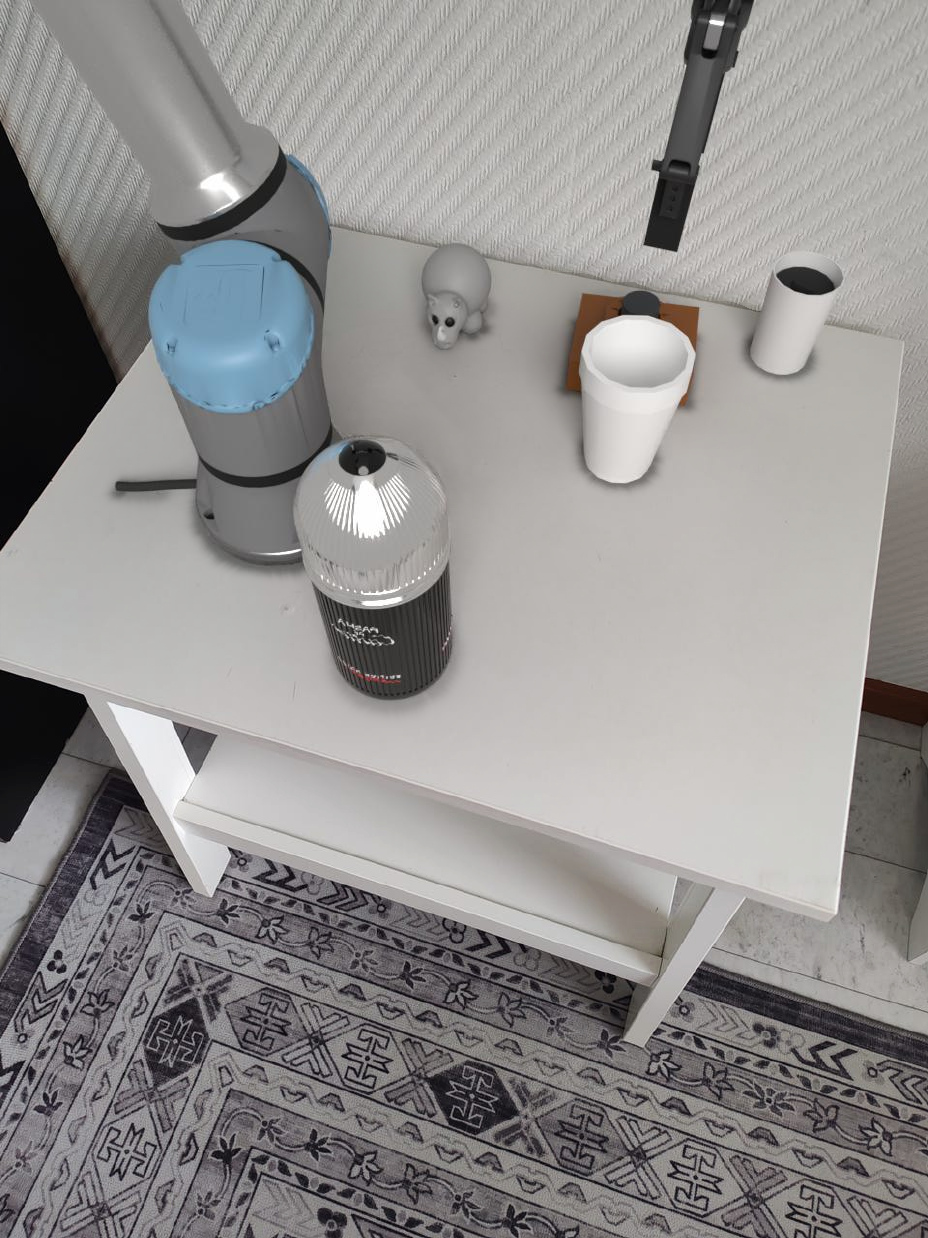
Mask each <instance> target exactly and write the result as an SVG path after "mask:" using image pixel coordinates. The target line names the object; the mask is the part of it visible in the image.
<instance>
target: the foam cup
mask: <svg viewBox="0 0 928 1238" xmlns="http://www.w3.org/2000/svg"><path fill="white" fill-rule="evenodd" d="M696 355H697V354H696V352H695V351H694V349H693V347H692V345H691V342H690V340H689V338H688V337H687V336H686V335H685V334H684V333H682V332H681V331H680V330H679V329H677V328H676V327H675V326H674V325H672V324H671V323H668V322H665V321H662V320H659V319H656V318H653V317H650V316H641V315H622V316H619V317H615V318H612V319H609V320H606V321H602V322H601V323H599V324H598V325H597V326H596V327H595V328H594V329H592V330H591V331H590V332H589V333H588V334H587V335H586V338H585V341H584V345H583V348H582V351H581V359H580V366H579V375H580V378H581V387H582V392H581V409H582V410H581V412H582V413H581V415H582V435H583V436H582V439H583V440H582V441H583V458H584V461H585V464H586V468H587V469H588V470H589V471H590V472H591V473H592V474H593V475H594V476H595V477H596V478H598V479H601V480H603V481H606V482H609V483H611V484H612V483H613V484H628V483H630V482H633V481H637V480H639V479H641V478H642V477H643V475H645V474H646V473H647V472H648V471H649V467H651V465H652V463H653V461H654V459H655V456H656V454H657V452H658V450H659V448H660V445H661V443H662V441H663V439H664V437H665V435H666V433H667V430H668V428H669V426H670V423H671V422H672V420H673V417H674V415H675V413H676V410H677V409H678V406H679V405H678V404H679V402H680V400H681V398H682V396H683V395H684V394H686V392H687V389H688V385H689V381H690V378H691V374H692V370H693V365H694V366H695V363H694V360H695V361H696Z"/></svg>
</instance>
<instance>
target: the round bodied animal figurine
mask: <svg viewBox="0 0 928 1238" xmlns="http://www.w3.org/2000/svg"><path fill="white" fill-rule="evenodd" d="M420 280H421V288H422V293H423V296H424V298H425V300H426V301H427V305H426V310H425V315H426V317H425V318H426V320H427V322H428V324H429V325H430V328H431V334H430V337H431V338H430V339H431V342H432V344H433V345H434V346H435V347H436V348H438V349H439V350H441V351H448V350H451V349H453V348H454V347H455V346H456V345H457V344H458V341H459V336H460V335H459V334H460V332H463V333H464V334H469V335H472V334H475V333H477V332H479V331H481V329H482V328H483V324H484V321H483V315H482V313H484V312H485V311H486V310H487V309H488V307H489V296H490V293H491V288H492V273H491V268H490V266H489V264H488V262H487V260H486V258H485V257H484V255H482V254H481V252H480V251H478V250H477V249H476V248H475V247H472V246H470V245H469V244H466V243H460V242H459V243H458V242H454V243H447V244H444V245H442V246H440V247H439V248H437V249H435V250H434V251H433V252H432V253H431V254H430V255H429V257H428V258H427V260H426V261H425V263H424V265H423V268H422V272H421V279H420Z"/></svg>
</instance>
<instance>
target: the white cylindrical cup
mask: <svg viewBox="0 0 928 1238" xmlns="http://www.w3.org/2000/svg"><path fill="white" fill-rule="evenodd" d="M844 272H845V271H844V269H843V267H842V266H840V264H838V262H837V261H836V260H834V259H832V258H831V257H829V256H827V255H825V254H823V253H819V252H815V251H811V250H795V251H791V252H788V253H784V254H783V255H781V256H780V257H779V258H777V259H776V260H775V262H774V265H773V267H772V271H771V273H770V277H769V281H768V285H767V287H766V290H765V291H766V292H765V296H764V299H763V303H762V305H761V306H762V307H761V310H760V313H759V316H758V320H757V324H756V327H755V332H754V335H753V338H752V343H751V346H750V349H749V354H750V359H751V360H752V362H753V363H754V364H755V365H756V367H758V368H759V369H762V371H765V372H767V373H769V374H773V375H777V376H778V375H779V376H780V375H781V376H782V375H783V376H784V375H786V376H788V375H792V374H794V373H798V372H799V371H800V370H802V369H803V368H804V367H805V366H806V363H807V361H808V359H809V357H810V355H811V353H812V350H813V348H814V346H815V344H816V342H817V340H818V338H819V336H820V334H821V332H822V330H823V328H824V325H825V324H826V322H827V320H828V317H829V316H830V313H831V311H832V308H833V307H834V304H835V302H836V301H837V298H838V297H839V294H840V292H841V290H842V288H843V286H844V282H845V280H846V277H845V273H844Z"/></svg>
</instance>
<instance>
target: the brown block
mask: <svg viewBox="0 0 928 1238" xmlns="http://www.w3.org/2000/svg"><path fill="white" fill-rule="evenodd" d="M625 296H626V295H623V296H619V297H618V296H617V297H616V296H611V295H610V296H609V295H602V294H593V293H584V292H582V293H581V298H580V303H579V308H578V312H577V320H576V323H575V327H574V334H573V338H572V339H573V340H572V344H571V350H570V354H569V359H568V369H567V377H566V378H567V379H566V386H565V390H566V391H574V392H580V393H582V387H581V378H580V375H579V366H580V359H581V351H582V348H583V345H584V341H585V338H586V335H587V334H588V333H589V332H590V331H591V330H592V329H594V328H595V327H596V326H597V325H598V324H599V323H601V322H602V321H606V320H609V319H612V318H615V317H619V316H620V315H621V309H622V303H623V299H624V297H625ZM699 315H700V306H694V305H686V304H676V303H669V302H663V301H661V300H660V310H659V314H658V319H659V320H662V321H665V322H668V323H671V324H672V325H674V326H675V327H676V328H677V329H679V330H680V331H681V332H682V333H684V334H685V335H686V336H687V337H688V338H689V340H690V342H691V345H692V347H693V349H694V351H695V353H696V352H697V351H696V350H697V338H698V330H699V329H698V327H699V317H700V316H699ZM695 361H696V359H695V360H694V365H693V370H692V374H691V378H690V381H689V385H688V389H687V392H686V394H684V395H683V396H682V398H681V400H680V402H679V404H678V406H686V403H687V401H688V400H687V399H688V397H689V393H690V389H691V385H692V382H693V380H694V379H693V378H694V373H695V363H696V362H695Z"/></svg>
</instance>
